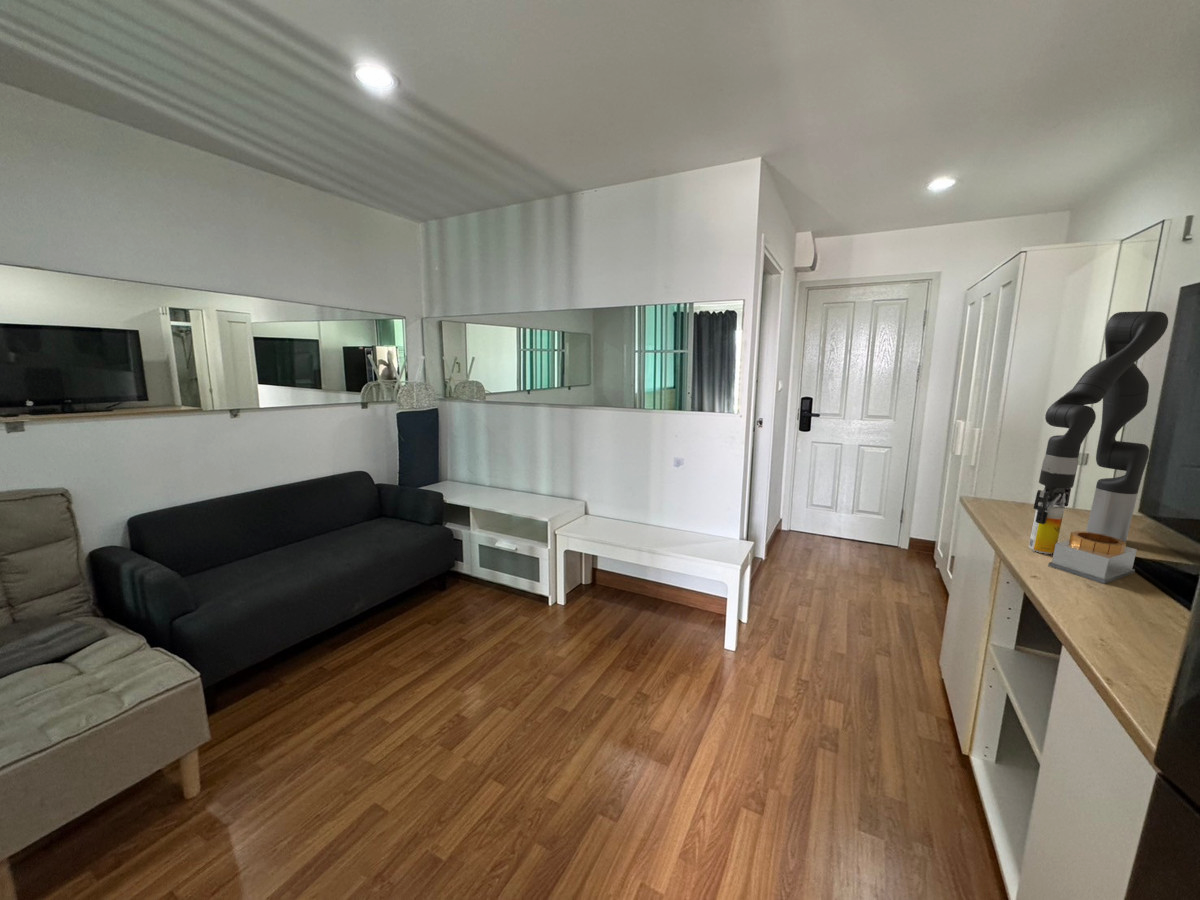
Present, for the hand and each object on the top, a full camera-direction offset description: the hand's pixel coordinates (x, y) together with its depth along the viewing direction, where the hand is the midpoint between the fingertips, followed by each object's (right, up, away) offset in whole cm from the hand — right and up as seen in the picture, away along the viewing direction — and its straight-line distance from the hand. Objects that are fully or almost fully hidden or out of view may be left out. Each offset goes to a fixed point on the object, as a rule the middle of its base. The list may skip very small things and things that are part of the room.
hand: (1047, 521), depth 142 cm
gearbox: (+4, -12, -10) cm, 16 cm away
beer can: (0, -10, +2) cm, 10 cm away
